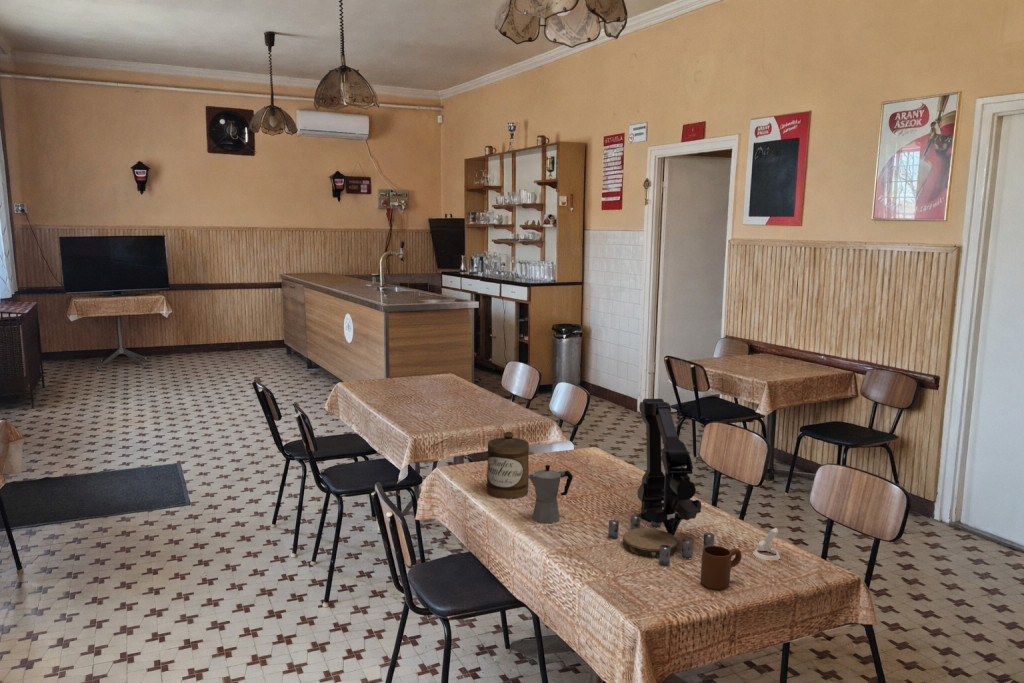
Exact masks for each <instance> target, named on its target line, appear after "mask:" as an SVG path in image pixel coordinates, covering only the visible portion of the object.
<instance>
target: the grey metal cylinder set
mask: <svg viewBox="0 0 1024 683" xmlns="http://www.w3.org/2000/svg"><path fill="white" fill-rule="evenodd" d="M641 519H642V518H641V516H639V515H638V514H631V515H630V527H629V528H630V529H629V530H632V529H637V528H641ZM650 523H651V524H650V526H651V528H654V527H655V528H654V529H658V528H657V527H660V528H661V526H662V523H655V522H653V521H651V522H650ZM619 526H620V522H619V520H616V519H610V520H608V535H607V537H608V538H609V539H610V538H612V539H611V540H617V539H618V538H619ZM616 538H617V539H616ZM681 542H682V543H681V556H682V557H683V558H686V559H685V560H690V559H689V558H692V559H693V546H694V545H693V544H694V540H693V539H691V538H683V539H682V541H681ZM702 544H703V546H702V549H703V548H704V547H706V546H715V534H714V533H711V532H705V533H703V543H702ZM670 549H671V547H670V546H667V545H661V546H660V551H659V558H658V564H659V566H661V567H669V566H670V561H671V556H670ZM682 557H681V558H682ZM683 558H682V559H683ZM668 565H669V566H668Z"/></svg>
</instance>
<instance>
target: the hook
mask: <svg viewBox="0 0 1024 683" xmlns="http://www.w3.org/2000/svg"><path fill="white" fill-rule="evenodd" d="M778 533H779V530H778V528H777V527H775V528H773V529H770V531H769V532H768V534H767V535H766V536H765V538H764V539H763V540H761V541H759V542H758V543H757V548H755V550H754V551H753V553H752V555H753V554H754V555H755V556H756V557H758V558H761V559H764V560H770V561H771V560H778V559H780V560H781V556H780V553H779V552H778V550H776V549H773V548H772V542H773V540H774V538H776V536H777V535H778ZM761 550H763V551H768V552H767V553H769V552H772V553H774V554H773V555H766V554H762V553H761V552H757V551H761ZM772 553H771V554H772ZM775 554H776V555H775Z"/></svg>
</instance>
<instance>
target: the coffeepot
mask: <svg viewBox="0 0 1024 683" xmlns="http://www.w3.org/2000/svg"><path fill="white" fill-rule="evenodd" d="M544 467H545V469H540V470H536V471H534V472H533V473H532V474H531V473H530V474H529V476H528V478H529V480H530V481H531V482H532V485H533V487H534V491H535V495H536V496H535V502H534V508H533V514H532V520H533V521H534V520H535V521H534V522H536V521H537V522H536V523H539V522H540V524H547V523H548V524H554V523H553V522H555V523H557V522H559V521H560V511H559V505H558V504H559V503H558V499H557V498H558V497H557V496H558V494H559V488H560V483H561V478H562V479H563V478H565V477H567V479H566V481H565V482H566V483H565V486H564V489H563V492H560V494H559V495H560V496H562V497H563V496H567V495H568V493H569V490H570V486H571V483H572V480H573V474H572V473H571V472H570V471H569V470H559V471H556V470H554V469H553V470H551V469H550V468H551V465H549V464H546V465H545V466H544ZM556 521H557V522H556Z"/></svg>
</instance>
